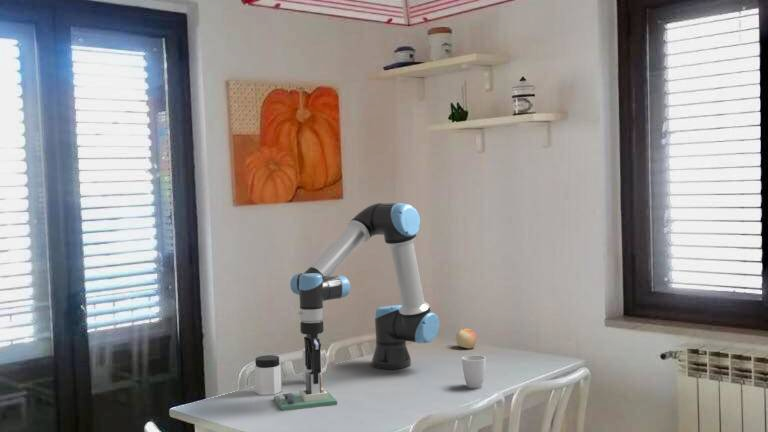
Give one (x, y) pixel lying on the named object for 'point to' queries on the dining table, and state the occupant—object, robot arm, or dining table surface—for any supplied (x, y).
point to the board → (304, 400)
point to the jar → (267, 375)
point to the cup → (474, 370)
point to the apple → (466, 338)
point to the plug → (308, 383)
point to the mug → (321, 364)
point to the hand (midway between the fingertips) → (313, 391)
